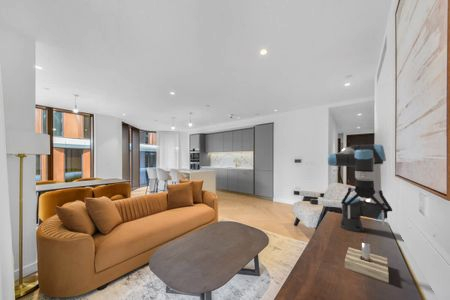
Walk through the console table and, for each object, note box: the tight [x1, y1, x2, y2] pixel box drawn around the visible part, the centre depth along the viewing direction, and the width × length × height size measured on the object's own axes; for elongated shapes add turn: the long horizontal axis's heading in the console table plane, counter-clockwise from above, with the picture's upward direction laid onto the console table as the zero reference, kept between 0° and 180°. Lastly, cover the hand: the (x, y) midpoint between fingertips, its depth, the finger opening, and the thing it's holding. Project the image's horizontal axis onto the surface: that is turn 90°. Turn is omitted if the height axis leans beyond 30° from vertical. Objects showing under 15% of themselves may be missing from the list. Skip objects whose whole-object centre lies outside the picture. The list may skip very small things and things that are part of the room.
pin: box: [361, 241, 371, 262], centre depth 88 cm, size 3×3×11 cm
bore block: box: [344, 247, 390, 284], centre depth 88 cm, size 16×16×4 cm
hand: (365, 221), depth 89 cm, fingers open, 13 cm apart
